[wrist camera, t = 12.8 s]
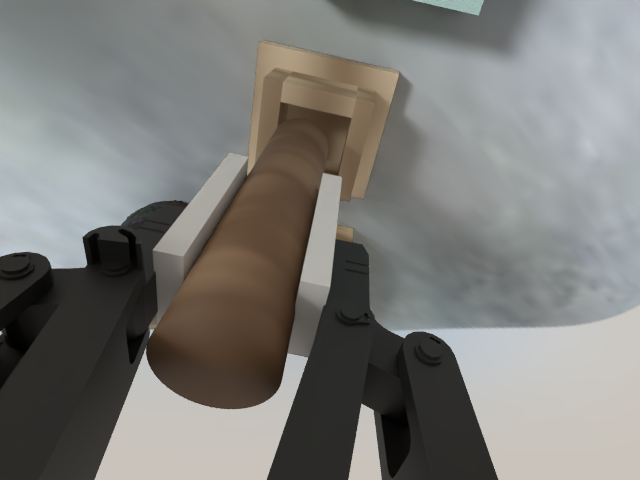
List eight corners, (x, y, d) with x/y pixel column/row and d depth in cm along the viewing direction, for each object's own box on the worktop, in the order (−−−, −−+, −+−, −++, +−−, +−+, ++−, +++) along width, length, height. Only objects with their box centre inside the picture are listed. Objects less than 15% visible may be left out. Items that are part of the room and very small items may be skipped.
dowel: (268, 167, 21) (149, 394, 9) (275, 112, 19) (141, 303, 8) (322, 179, 21) (272, 419, 9) (334, 125, 19) (291, 334, 8)
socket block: (250, 167, 27) (233, 192, 23) (262, 39, 22) (244, 49, 19) (363, 192, 27) (362, 221, 24) (398, 70, 23) (403, 85, 19)
